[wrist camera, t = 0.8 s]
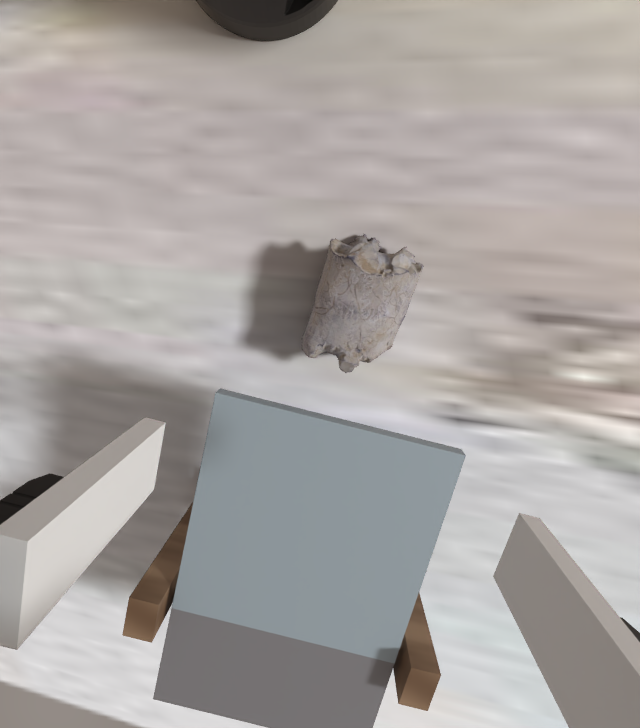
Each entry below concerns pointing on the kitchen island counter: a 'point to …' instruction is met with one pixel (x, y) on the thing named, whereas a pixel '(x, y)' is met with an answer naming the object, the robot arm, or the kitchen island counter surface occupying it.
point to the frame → (157, 593)
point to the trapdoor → (300, 565)
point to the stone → (360, 301)
